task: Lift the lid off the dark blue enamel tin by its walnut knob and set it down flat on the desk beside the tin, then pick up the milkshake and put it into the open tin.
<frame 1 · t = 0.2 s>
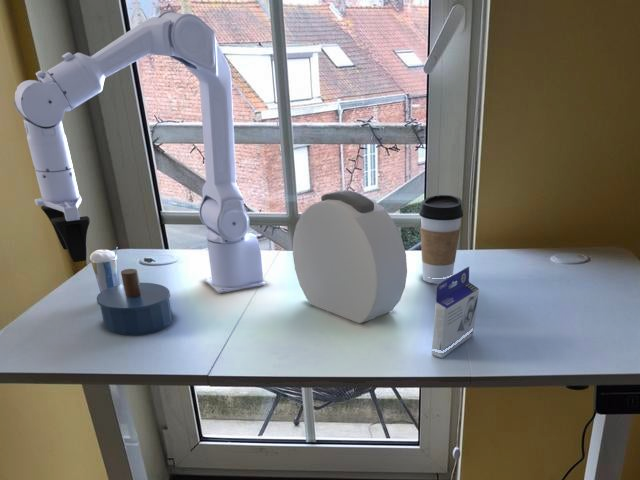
hand: (74, 254, 125), 10 cm above the table, tool pointing down, fingers open, 7 cm apart
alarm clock: (349, 309, 134), on the table
lid: (134, 297, 125), point 4 cm above the table, touching tin
tin: (139, 322, 127), on the table
ink box: (453, 346, 121), on the table
coffee cup: (437, 279, 147), on the table
milkshake: (114, 302, 135), on the table
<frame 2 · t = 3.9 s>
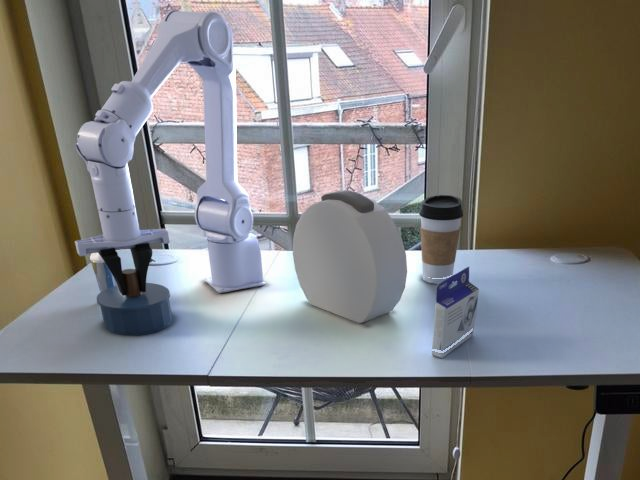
hand: (133, 291, 124), 5 cm above the table, tool pointing down, fingers closed on lid, 2 cm apart
lid: (134, 297, 125), point 4 cm above the table, touching gripper, tin
everything else where it was.
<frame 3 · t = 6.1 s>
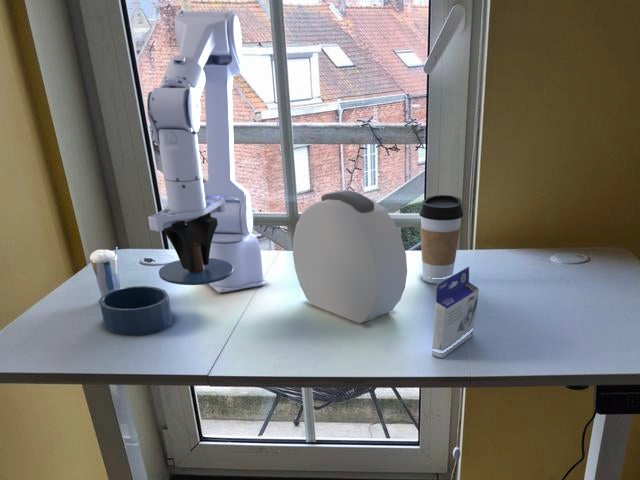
hand: (195, 266, 120), 10 cm above the table, tool pointing down, fingers closed on lid, 2 cm apart
lid: (196, 272, 121), point 9 cm above the table, touching gripper
everything else where it was.
when the fingers open (2 cm above the table, at t = 8.5 s): lid stays where it is, point 1 cm above the table.
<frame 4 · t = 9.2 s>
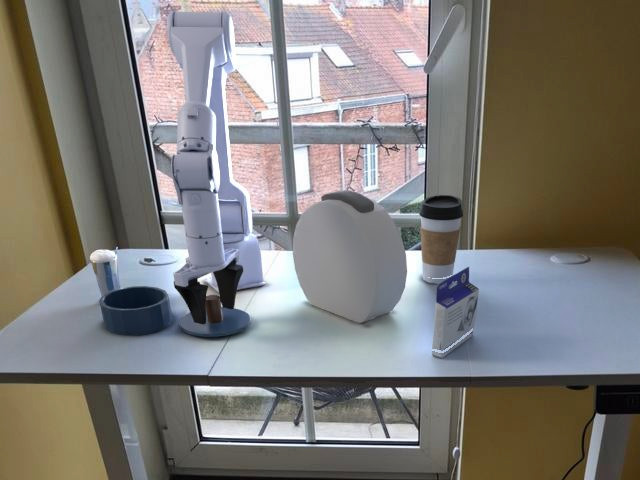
hand: (214, 315, 125), 2 cm above the table, tool pointing down, fingers open, 7 cm apart
lid: (215, 322, 126), point 1 cm above the table
everything else where it was.
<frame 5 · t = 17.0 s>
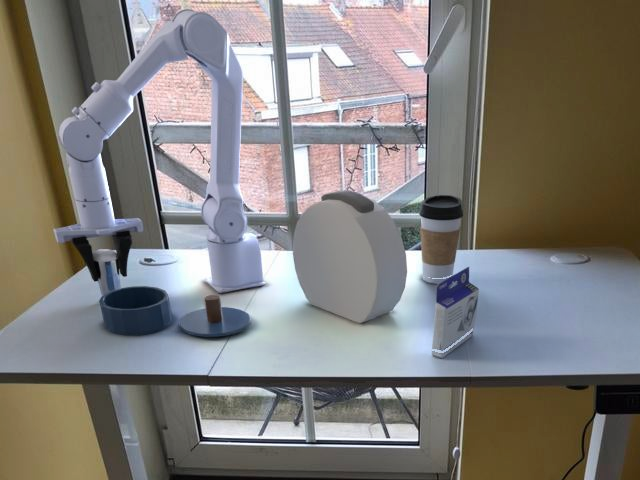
hand: (109, 277, 132), 4 cm above the table, tool pointing down, fingers closed on milkshake, 4 cm apart
milkshake: (114, 302, 135), on the table, touching gripper
everything else where it was.
when the fingers open (5 cm above the table, at t = 21.2 s): milkshake stays where it is, resting on tin.
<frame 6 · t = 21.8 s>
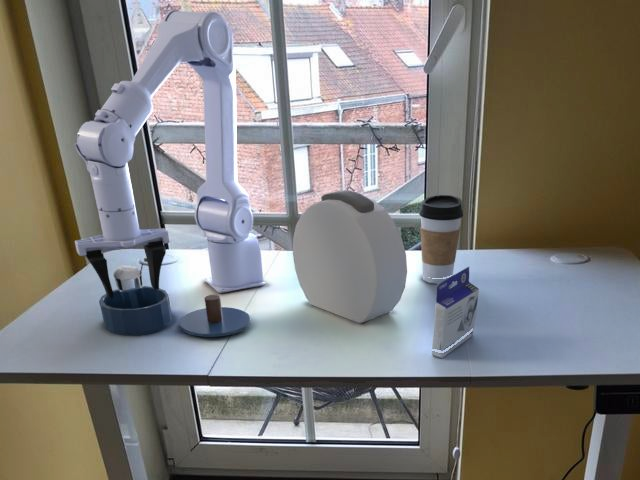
hand: (133, 291, 124), 5 cm above the table, tool pointing down, fingers open, 7 cm apart
milkshake: (139, 321, 127), resting on tin
everything else where it was.
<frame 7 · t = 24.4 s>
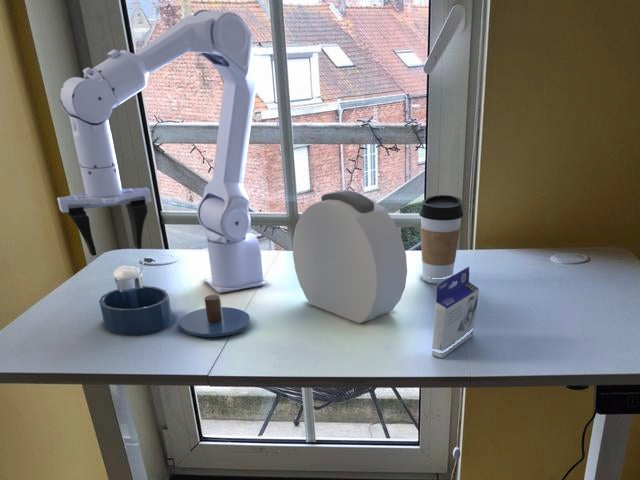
hand: (115, 250, 126), 10 cm above the table, tool pointing down, fingers open, 7 cm apart
nothing on the table moved.
at the end: lid inside the target area (0.1 cm from its centre), point 0.6 cm above the table; lid tilted 0°; milkshake inside the target area in the tin (0.1 cm from its centre), point 0.2 cm above the tin's base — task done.
